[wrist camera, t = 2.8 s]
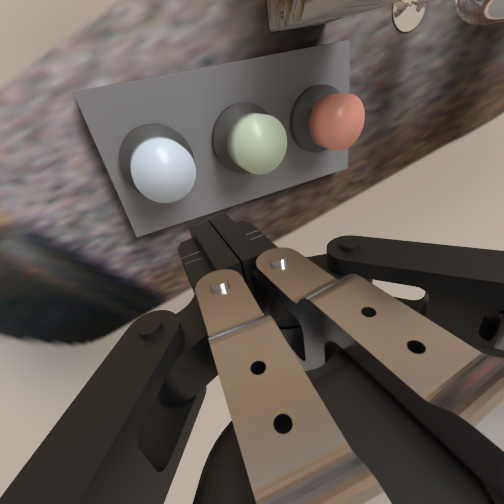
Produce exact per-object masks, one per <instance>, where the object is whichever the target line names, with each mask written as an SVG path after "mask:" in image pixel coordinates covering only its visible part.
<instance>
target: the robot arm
mask: <svg viewBox="0 0 504 504" xmlns="http://www.w3.org/2000/svg"><path fill="white" fill-rule="evenodd" d="M189 229H190V232H191V236H192V239H189V240H186V241H183V242H181V243H180V246H179V249H178V252H179V254H180V257H181V260H182V263H183V265H184V268H185V271H186V274H187V276H188V279H189V282H190V284H191V286H192V289H193V291H194V293H195V295H194V297H193V299H192V301H191V302H190V303H189V304H188V305H187V306H186V307H185V308H184V309H182V310H181V311H180V312H178V313H177V314H175V313H173V312H170V311H167V310H159V311H153V312H150V313H148V314H145V315H143V316H142V317H140V318H138V319H137V320H136V321H134V322H133V323H132V324H131V325H130V327H129V328H128V329H127V330H126V332H125V333H124V334H123V336H122V337H121V338H120V340H119V341H118V342H117V344H116V345H115V347H114V348H113V349H112V350H111V352H110V353H109V354H108V356H107V357H106V358H105V360H104V361H103V362H102V364H101V365H100V366H99V367H98V369H97V370H96V371H95V373H94V374H93V375H92V377H91V378H90V379H89V381H88V382H87V384H86V385H85V386H84V387H83V389H82V390H81V391H80V393H79V394H78V395H77V397H76V398H75V399H74V401H73V402H72V403H71V405H70V406H69V407H68V409H67V410H66V411H65V413H64V414H63V415H62V417H61V418H60V419H59V421H58V422H57V423H56V425H55V426H54V427H53V429H52V430H51V431H50V433H49V434H48V435H47V437H46V438H45V439H44V441H43V442H42V443H41V445H40V446H39V447H38V449H37V450H36V451H35V452H34V454H33V455H32V456H31V458H30V459H29V460H28V462H27V463H26V464H25V466H24V467H23V468H22V470H21V471H20V472H19V474H18V475H17V476H16V478H15V479H14V481H13V482H12V483H11V484H10V486H9V487H8V488H7V490H6V491H5V492H4V494H3V495H2V497H1V498H0V504H164V501H165V499H166V496H167V493H168V491H169V488H170V486H171V483H172V480H173V478H174V475H175V473H176V470H177V467H178V465H179V462H180V460H181V457H182V454H183V452H184V449H185V447H186V444H187V442H188V439H189V436H190V434H191V431H192V428H193V426H194V423H195V421H196V418H197V416H198V413H199V410H200V408H201V405H202V403H203V400H204V397H205V394H206V385H207V384H208V383H209V382H210V381H212V380H213V379H214V378H215V377H216V376H217V375H218V374H219V378H220V381H221V385H222V388H223V391H224V394H225V398H226V401H227V405H228V409H229V412H230V415H231V419H232V421H231V422H230V423H229V425H228V426H227V427H226V428H225V429H224V431H223V432H222V434H221V435H220V436H219V438H218V439H217V440H216V442H215V444H214V446H213V448H212V450H211V451H210V453H209V456H208V458H207V460H206V463H205V465H204V468H203V471H202V474H201V477H200V480H199V484H198V487H197V491H196V494H195V498H194V501H193V504H504V251H497V250H488V249H479V248H469V247H459V246H450V245H439V244H429V243H420V242H411V241H401V240H391V239H382V238H372V237H362V236H341V237H338V238H335V239H333V240H331V241H330V242H329V243H328V245H327V254H323V255H317V256H312V257H304V256H303V255H301V254H300V253H299V252H297V251H295V250H293V249H290V248H278V247H277V246H276V245H275V244H273V243H272V242H271V241H270V240H269V239H268V238H267V237H266V236H265V235H263V234H262V233H261V232H260V231H258V229H257V228H256V227H255V226H253V225H252V224H250V223H247V222H244V221H240V222H237V223H234V222H233V221H232V220H231V219H230V218H229V217H228V216H227V215H226V214H224V215H221V216H218V217H215V218H212V219H209V220H208V221H207V220H206V221H203V222H200V223H197V224H194V225H191V226H189ZM373 279H374V280H380V281H386V282H392V283H398V284H404V285H410V286H416V287H420V288H422V289H423V290H425V291H426V292H425V296H424V297H423V298H422V299H420V300H407V299H402V298H397V297H392V296H391V295H389V294H388V293H386V292H384V291H383V290H381V289H379V288H378V287H376V286H375V285H373V284H372V281H373ZM263 314H264V315H263Z"/></svg>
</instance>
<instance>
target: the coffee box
mask: <svg viewBox="0 0 504 504" xmlns="http://www.w3.org/2000/svg"><path fill="white" fill-rule="evenodd" d="M400 1H403V0H267V6H268V19H269V29H270V31H271V32H275V31H282V30H288V29H295V28H302V27H308V26H315V25H321V24H326V23H330V22H333V21H336V20H339V19H342V18H346V17H349V16H352V15H356V14H360V13H363V12H367V11H370V10H373V9H376V8H380V7H383V6H386V5H390V4H393V3H396V2H400Z"/></svg>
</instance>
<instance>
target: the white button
mask: <svg viewBox="0 0 504 504" xmlns="http://www.w3.org/2000/svg"><path fill="white" fill-rule="evenodd" d="M130 171H131V175H132V178H133V181H134V183H135V186H136V187H137V189H138V190H139V191H140V192H141V193H142V194H143V195H144V196H145V197H147V198H148V199H150V200H153V201H155V202H159V203H171V202H175V201H178V200H180V199H182V198H183V197H185V196H186V195H187V194H188V193H189V192H190V190H191V189H192V187H193V185H194V182H195V178H196V167H195V163H194V160H193V158H192V156H191V155H190V153H189V152H188V151H187V150H186V149H185V148H184V147H183V146H181V145H180V144H178V143H177V142H176V141H174V140H172V139H170V138H167V137H163V136H154V137H149V138H147V139H145V140H143V141H141V142H140V143H139V144H138V145H137V146H136V147H135V148H134V150H133V152H132V154H131V158H130Z"/></svg>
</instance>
